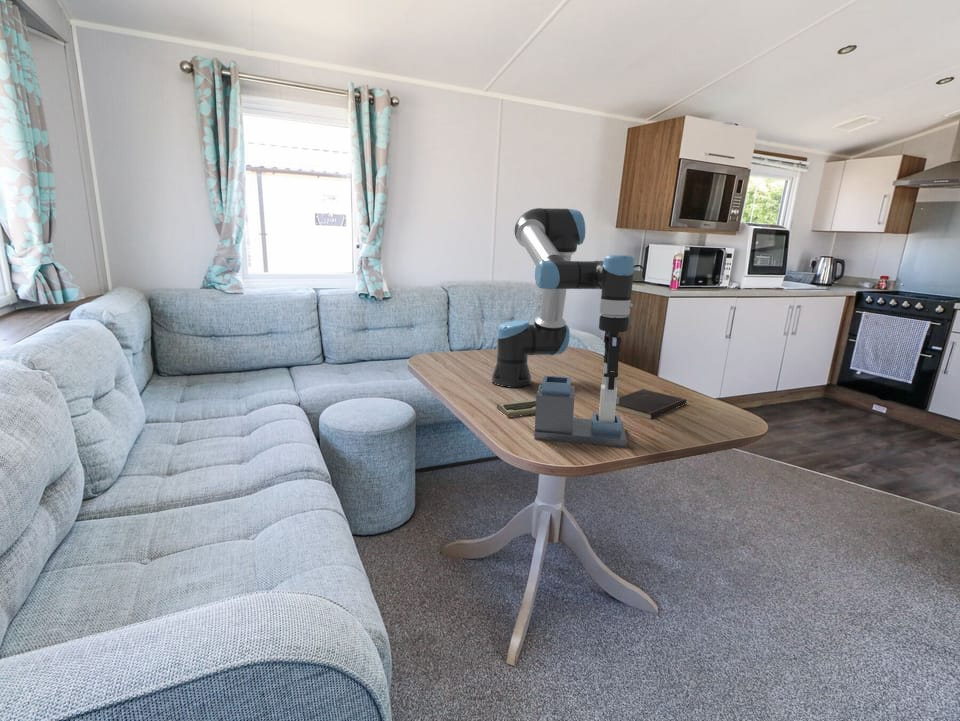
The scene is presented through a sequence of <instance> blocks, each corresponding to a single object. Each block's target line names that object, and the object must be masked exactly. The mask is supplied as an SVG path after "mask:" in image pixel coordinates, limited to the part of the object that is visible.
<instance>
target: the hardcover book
mask: <svg viewBox="0 0 960 721" xmlns="http://www.w3.org/2000/svg"><path fill="white" fill-rule="evenodd" d="M685 403H686V404H687V399H686V398H682V397H677V396H673V395H669V394H665V393H661V392H657V391H653V390H648V389H644V388H643V389H640V390H637V391H634V392H631V393H628V394H625V395H622V396H620V397H619V404H616V410H617V411H622V412H624V413H629V414H632V415H636V416H639V417H642V418H647V419H649V418H650V420H653V419H655V417H656V418H657V416H658V417H660V416H662V415H661V414H663V415H665V414H667V413H669V412H668V411H670V410H672V409H674V408H676V407H678V406H681V405H683V404H685ZM683 406H684V405H683ZM681 407H682V406H681ZM674 410H675V409H674ZM672 411H673V410H672ZM666 412H667V413H666ZM670 412H671V411H670ZM664 413H665V414H664ZM659 415H660V416H659Z"/></svg>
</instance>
